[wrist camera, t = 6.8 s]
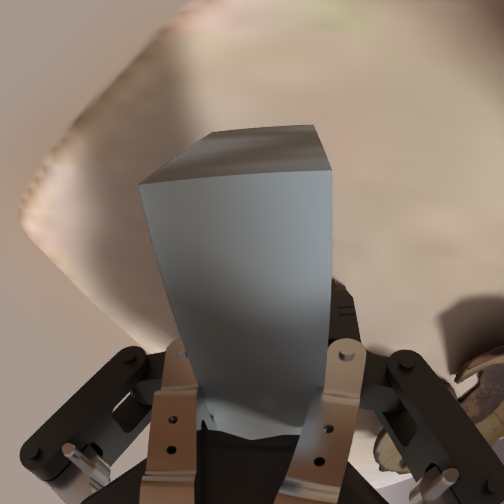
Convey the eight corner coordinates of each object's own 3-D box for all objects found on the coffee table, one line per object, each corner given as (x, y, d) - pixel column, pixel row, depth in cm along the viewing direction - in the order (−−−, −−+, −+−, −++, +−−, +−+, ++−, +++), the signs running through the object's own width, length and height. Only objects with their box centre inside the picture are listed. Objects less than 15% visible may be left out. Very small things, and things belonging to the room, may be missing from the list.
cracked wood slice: (328, 390, 29) (328, 459, 22) (584, 242, 17) (628, 289, 10) (396, 455, 36) (400, 500, 29) (572, 362, 24) (592, 401, 18)
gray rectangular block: (313, 124, 10) (332, 170, 5) (313, 403, 18) (310, 490, 13) (212, 132, 11) (137, 185, 6) (255, 403, 19) (242, 487, 14)
